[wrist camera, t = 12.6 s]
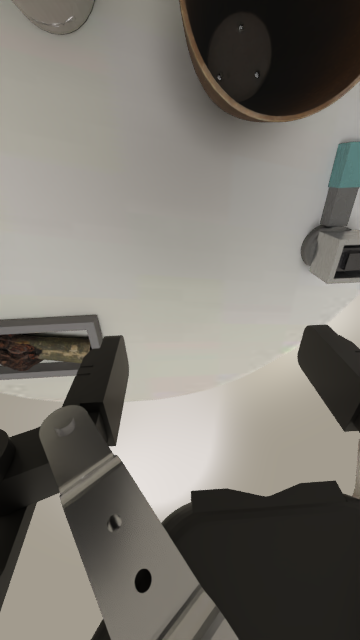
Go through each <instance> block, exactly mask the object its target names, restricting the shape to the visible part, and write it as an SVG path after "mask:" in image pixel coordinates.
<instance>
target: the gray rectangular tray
mask: <svg viewBox="0 0 360 640" xmlns="http://www.w3.org/2000/svg"><path fill="white" fill-rule="evenodd" d="M77 330H87V333H88V337H89V340H90V344H91V348H92V349H95V348H100V346H101V344H102V341H103V338H102V334H101V330H100V326H99V322H98V318H97V315H85V316H66V317H47V318H28V319H9V320H0V335H3V334H22V333H40V332H58V331H77ZM80 365H81V363H73V362H57V363H39V364H37V365H34V366H33V367H31V368H30V369H29V370H26V371H18V370H14V369H11V368H9V367H4V366H0V380H9V379H26V378H43V377H60V376H77V375H76V374H77V372H78V369H79V368H80Z"/></svg>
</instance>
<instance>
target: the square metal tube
mask: <svg viewBox="0 0 360 640" xmlns="http://www.w3.org/2000/svg"><path fill="white" fill-rule="evenodd" d="M344 245H360V230H345V231H321V232H319V235H318V239H317V243H316V247H315V251H314V255H313V259H312V262H311V266H310V270H309V271H310V272H311V273H312V274H314V275H315V276H317V277H318V278H320V279H321V280H322V281H324V282H325V283H327V284H333V283H354V282H360V270H353V271H336V269H337V266H338V263H339V260H340V257H341V254H342V251H343V247H344Z"/></svg>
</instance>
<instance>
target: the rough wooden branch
mask: <svg viewBox="0 0 360 640" xmlns="http://www.w3.org/2000/svg"><path fill="white" fill-rule="evenodd" d="M91 350H92V348H91V344H90V340H89V339H79V338H55V337H37V336H25V335H22V334H3V335H0V364H1V365H3V366H4V367H9V368H11V369H14V370H18V371H26V370H29V369H30V368H31V367H33V366H34V365H37V364H38V363H40V362H41V361H42V360H54V361H63V362H73V363H82V360H83V358H84V356H85V355H86V354H87V353H88V352H90V351H91Z"/></svg>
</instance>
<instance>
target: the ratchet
mask: <svg viewBox="0 0 360 640" xmlns="http://www.w3.org/2000/svg"><path fill="white" fill-rule="evenodd" d="M328 187H329V191H328V195H327V199H326V203H325V207H324V210H323V214H322V218H321V222H320V224H323V225H320V226H318V227H316V228H315V229H313V230H312V231H311V232H310V233H309V234H308V235H307V237H306V238H305V240H304V242H303V244H302V247H301V256H302V259H303V261H304V262H305V263H306V264H307V265H309V266H311V262H312V259H313V255H314V251H315V247H316V243H317V239H318V235H319V232H321V231H345V230H351V229H349V228H346V227H343V226H347V224H348V221H349V217H350V214H351V211H352V208H353V205H354V201H355V198H356V195H357V192H358V188H359V187H360V142H349V143H342V144H339V146H338V150H337V154H336V158H335V161H334V165H333V169H332V173H331V177H330V181H329V185H328ZM353 270H360V245H344V247H343V251H342V254H341V257H340V260H339V263H338V266H337V269H336V271H353Z"/></svg>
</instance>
